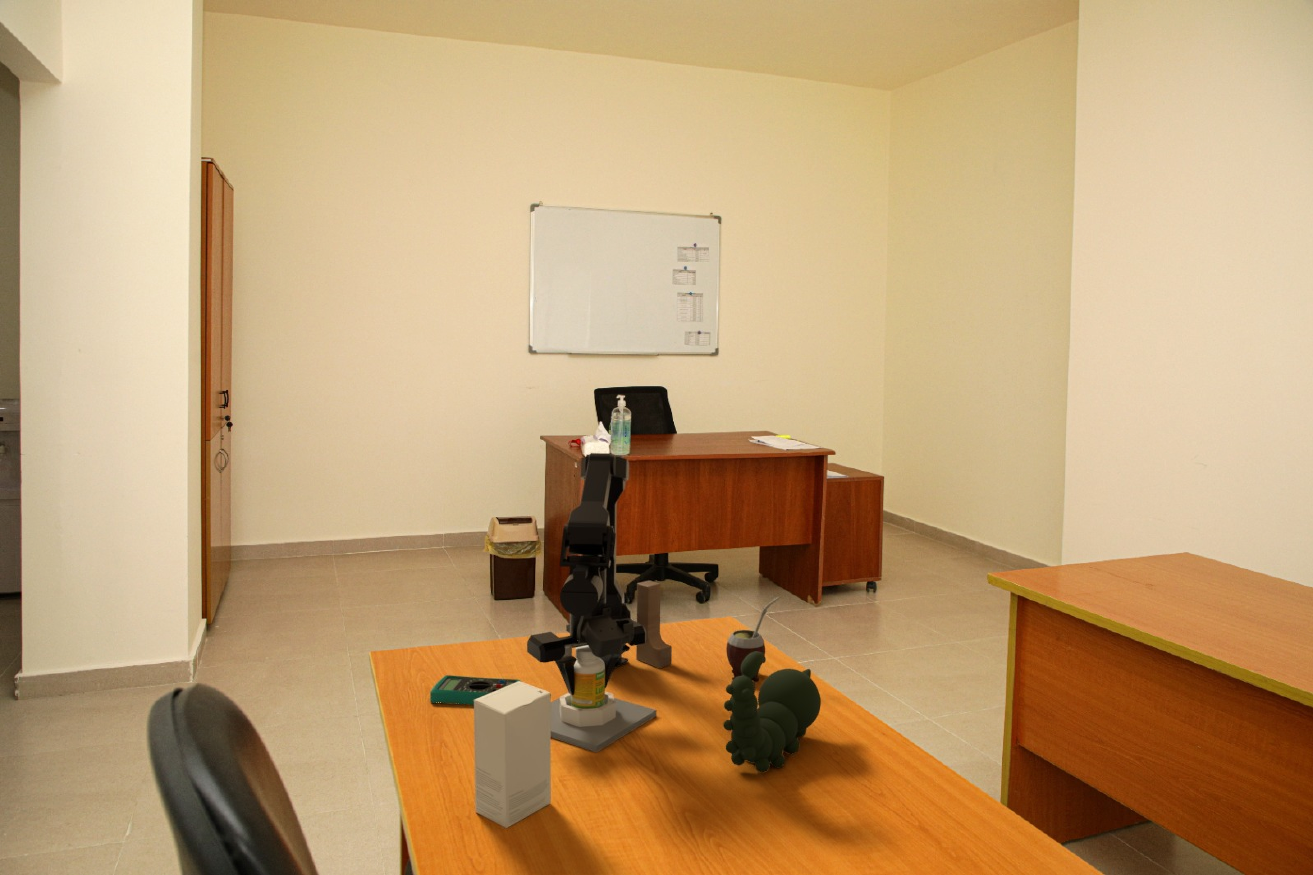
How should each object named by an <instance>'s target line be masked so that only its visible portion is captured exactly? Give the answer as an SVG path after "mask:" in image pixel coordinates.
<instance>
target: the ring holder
mask: <svg viewBox="0 0 1313 875" xmlns="http://www.w3.org/2000/svg"><path fill="white" fill-rule="evenodd" d="M655 717H657V709H655V708H651V707H648V706H645V705H640V704H637V703H633V702H632V701H631V702H630V701H627V700H622V699H620V698H616V697H614V694H613V693H611V692H608V691H605V704H604V706H602V707H600V708H592V709H579V708H575V707H572V706H571V695H570V694H569V692H567V693H564V694H563V695H561V696H559V697H558V698H556V699H555V700H552V701H551V702H550V722H551V739H555V740H558V741H561V742H564V743H566V744H570V745H573V746H577V747H579V748H582V749H584V750H587V751H591V752H594V753H598V752H600V751H601V750H603V749H605V748H606V747H608V746H609V745H611V744H613V743H614V742H616V741H617V740H619V739H621V738H622V737H625V736H626V735H627V734H629V733H631V732H632V731H634V730H636V729H637V728H640V726H642V725H643V724H644V725H645V723H648V722H649V721H650V720H652V719H654V718H655Z"/></svg>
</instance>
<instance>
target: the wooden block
mask: <svg viewBox="0 0 1313 875" xmlns="http://www.w3.org/2000/svg"><path fill="white" fill-rule="evenodd" d="M661 588H662V587H661V583H659V582H656V581H652V580H645V581H641V582H637V583H636V622H637V623H639V624H641V625H643V627H644V628H645V630H646V643H644V644H639V645H635V646H636V647H635V648H636V651H635V652H636V654H635V656H636V660H638V661H641V662H642V663H644V664H648V665H650V666H653V667H655V668H658V669H663V668H665V667H668V666H670V665H672V663H673V662H672V653H673V649H672V648H673V647H672V645H670V644H668V643H666V642H665V641H664V640H663V639H662V638H663V637H662V636H661V592H662V591H661Z"/></svg>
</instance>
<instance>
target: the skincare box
mask: <svg viewBox="0 0 1313 875" xmlns="http://www.w3.org/2000/svg"><path fill="white" fill-rule="evenodd" d="M520 681H521V680H520ZM520 681H518V682H516V683H513V684H511V685H509V686H506V687H504V688H501V689H499V690H497V691H494V692H492V693H489V694H487V695H485V696H482V697H480V698H477V699H475V700H474V705H473V719H474V720H473V723H474V724H473V725H474V727H473V728H474V729H473V730H474V732H473V734H474V736H473V737H474V788H475V789H474V791H475V792H474V799H475V800H474V803H475V806H474V807H475V808H474V809H475V810H474V811H475V812H476V813H477V814H479V815H480V816H482V817H484V818H487V819H488V820H490V821H492V822H494V823H496V824H498V825H500V826H502V827H503V828H505V829H508V828H509V827H511V826H513V825H516V823H518V822H520V821H522V820H523V819H525V818H527V817H529V816H531V815H533V814H534V813H536V812H538V811H539V810H541V809H543V808H545V807H547V806H548V805H550V804H551V803H552V783H551V782H552V777H551V776H552V774H551V773H552V772H551V771H552V768H551V766H552V765H551V762H552V761H551V760H552V759H551V758H552V756H551V750H552V749H551V746H552V745H551V743H552V742H551V740H552V737H551V722H550V702H552V701H551V698H552V693H551V692H549V691H548V690H544V689H542V688H539V687H537V686H533V685H531V684H528V683H526V682H524V681H522V682H520Z"/></svg>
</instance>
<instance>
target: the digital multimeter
mask: <svg viewBox="0 0 1313 875" xmlns="http://www.w3.org/2000/svg"><path fill="white" fill-rule="evenodd" d="M518 681H520V682H523V681H522V680H520V679H518V678H517V679H515V678H513V679H512V678H511V679H510V678H493V677H492V678H490V677H475V676H462V675H449V674H448V675H444V676H442V678H441V679H439V680H438V681H437V682H436V683H435V684H434V686H433V687H432V688H431V690H430V692H429V693H430V694H429V695H430V699H429V700H430V703H431V702H432V704H439V703H440V702H441V703H457V704H456V705H462V704H470V705H469V706H474V700H475V699H477V698H480V697H482V696H485V695H487V694H489V693H492V692H494V691H497V690H499V689H501V688H504V687H506V686H509V685H511V684H513V683H516V682H518ZM436 702H437V703H436ZM438 702H439V703H438ZM458 703H459V704H458Z"/></svg>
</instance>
